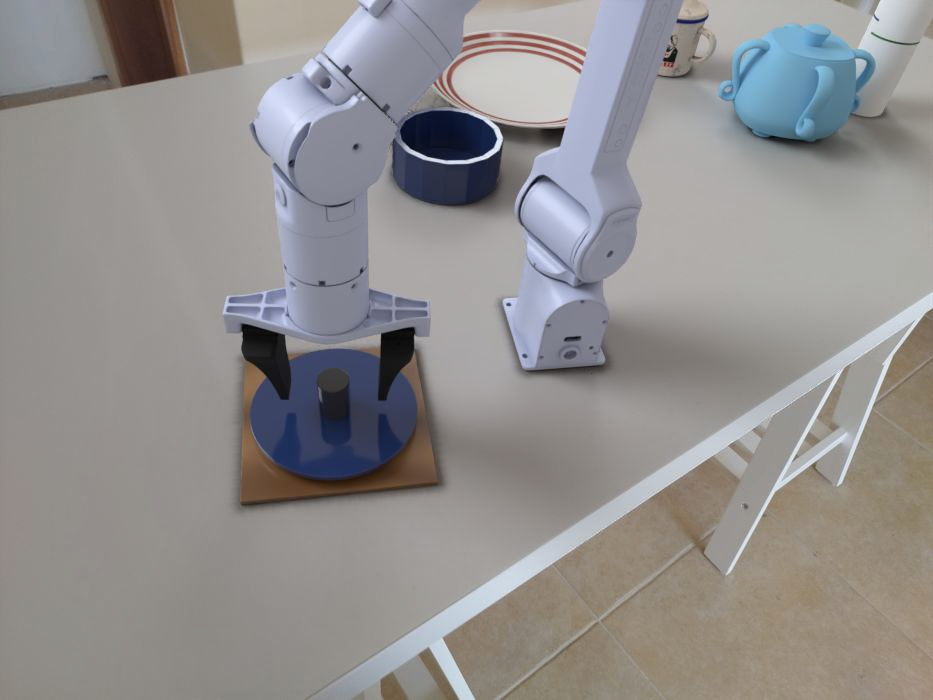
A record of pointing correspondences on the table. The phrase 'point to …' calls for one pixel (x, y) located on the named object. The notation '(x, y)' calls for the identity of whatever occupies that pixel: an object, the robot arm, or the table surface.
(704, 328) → the table surface
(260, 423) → the tin lid
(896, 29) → the cylindrical container
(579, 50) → the dinner plate
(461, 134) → the tin
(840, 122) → the decorative pot
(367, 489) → the board
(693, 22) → the teacup with lid
